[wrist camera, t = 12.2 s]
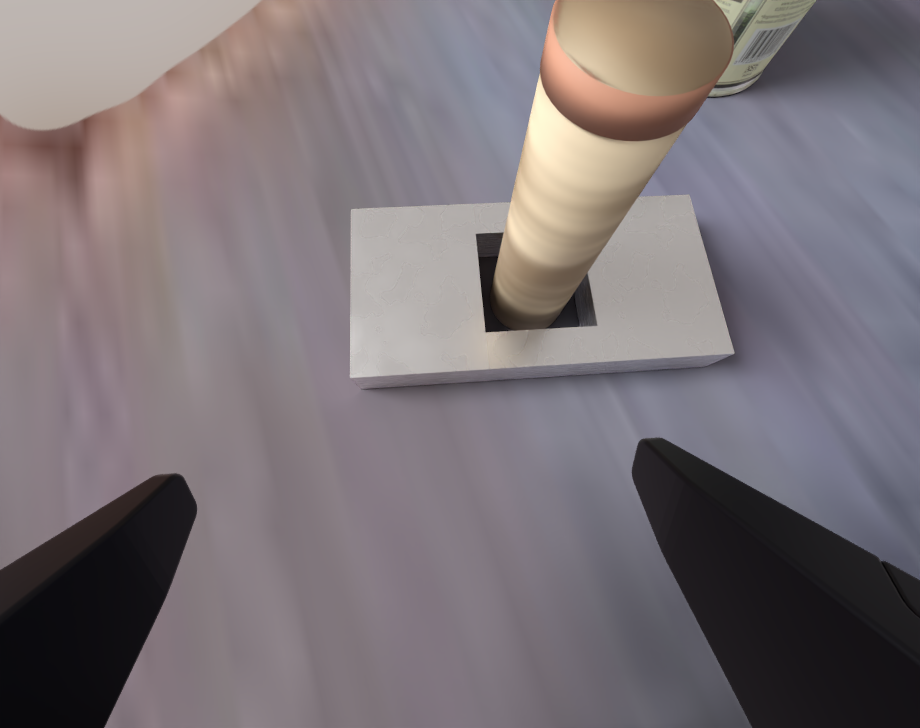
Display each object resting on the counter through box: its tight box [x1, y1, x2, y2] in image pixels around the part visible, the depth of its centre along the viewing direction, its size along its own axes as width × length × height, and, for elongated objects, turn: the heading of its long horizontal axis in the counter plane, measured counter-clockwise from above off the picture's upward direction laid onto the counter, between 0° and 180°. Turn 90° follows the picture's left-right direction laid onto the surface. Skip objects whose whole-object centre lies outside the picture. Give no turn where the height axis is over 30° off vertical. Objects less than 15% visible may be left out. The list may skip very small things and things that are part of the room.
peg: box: [490, 0, 734, 331], centre depth 17 cm, size 4×4×15 cm
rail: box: [350, 195, 735, 389], centre depth 23 cm, size 10×20×2 cm, turn 94°
